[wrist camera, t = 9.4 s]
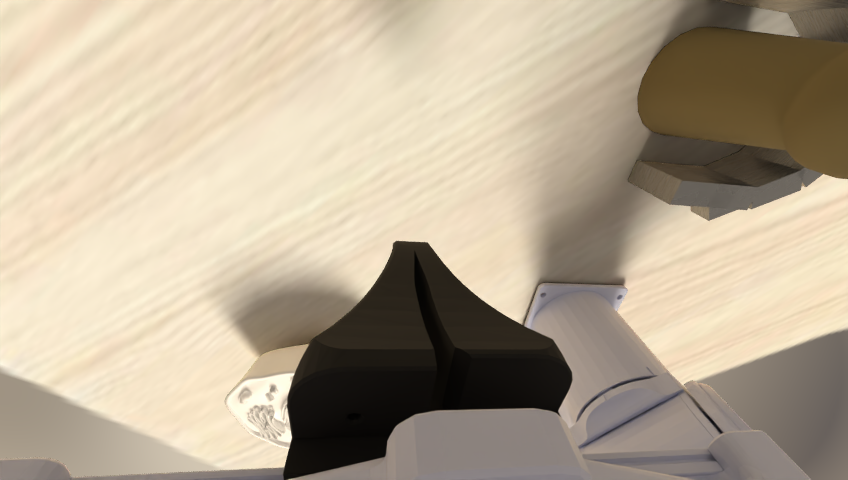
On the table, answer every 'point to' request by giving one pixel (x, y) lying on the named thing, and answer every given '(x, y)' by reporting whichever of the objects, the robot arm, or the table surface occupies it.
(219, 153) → the table surface
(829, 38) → the hub collar
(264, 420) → the cell model
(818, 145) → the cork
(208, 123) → the table surface
